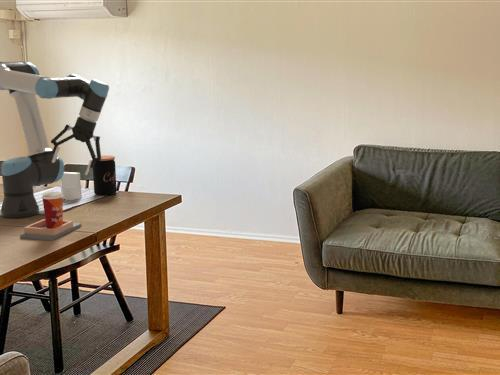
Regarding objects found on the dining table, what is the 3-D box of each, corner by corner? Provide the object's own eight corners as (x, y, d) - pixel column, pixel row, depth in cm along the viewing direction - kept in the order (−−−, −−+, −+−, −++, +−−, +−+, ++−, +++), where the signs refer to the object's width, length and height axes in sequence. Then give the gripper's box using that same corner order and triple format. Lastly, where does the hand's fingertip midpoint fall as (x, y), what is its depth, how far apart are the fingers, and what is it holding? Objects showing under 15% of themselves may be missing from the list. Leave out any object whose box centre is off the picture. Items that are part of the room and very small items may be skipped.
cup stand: (20, 237, 223) (19, 228, 222) (52, 224, 242) (51, 215, 241) (51, 240, 219) (50, 231, 219) (81, 226, 238) (80, 217, 238)
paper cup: (58, 233, 224) (55, 196, 221) (39, 232, 226) (36, 195, 223) (69, 227, 231) (67, 191, 228) (52, 226, 233) (49, 190, 231)
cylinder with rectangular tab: (57, 199, 285) (56, 174, 283) (68, 195, 294) (67, 170, 291) (74, 200, 283) (73, 175, 280) (85, 196, 291) (83, 171, 289)
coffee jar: (105, 197, 289) (103, 159, 286) (89, 194, 295) (87, 157, 291) (121, 193, 298) (119, 156, 295) (105, 190, 304) (103, 154, 300)
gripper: (54, 107, 235) (36, 158, 239) (116, 132, 239) (98, 181, 243) (59, 105, 242) (41, 154, 246) (119, 129, 247) (101, 177, 250)
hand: (69, 168), depth 245 cm, fingers open, 13 cm apart
